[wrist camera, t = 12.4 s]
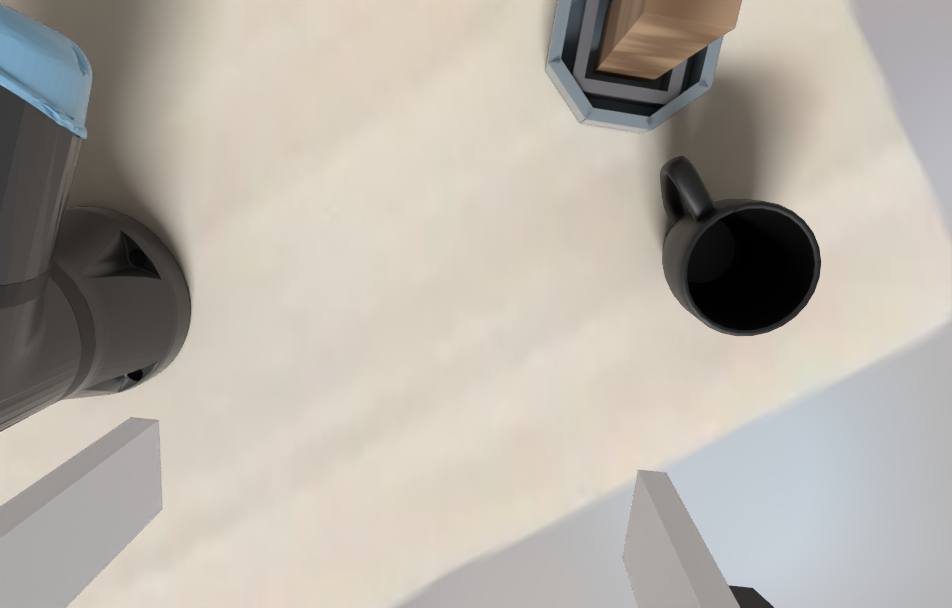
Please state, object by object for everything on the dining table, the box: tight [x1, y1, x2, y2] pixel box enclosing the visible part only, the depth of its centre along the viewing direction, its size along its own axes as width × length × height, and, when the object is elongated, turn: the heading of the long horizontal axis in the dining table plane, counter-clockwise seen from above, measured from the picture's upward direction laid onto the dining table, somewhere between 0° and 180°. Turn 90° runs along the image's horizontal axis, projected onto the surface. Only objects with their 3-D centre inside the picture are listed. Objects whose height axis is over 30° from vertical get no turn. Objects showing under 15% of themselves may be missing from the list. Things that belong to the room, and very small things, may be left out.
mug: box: [660, 156, 821, 336], centre depth 38 cm, size 8×12×10 cm
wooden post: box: [593, 0, 742, 83], centre depth 32 cm, size 4×4×16 cm
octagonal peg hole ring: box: [545, 0, 724, 133], centre depth 39 cm, size 11×11×4 cm
